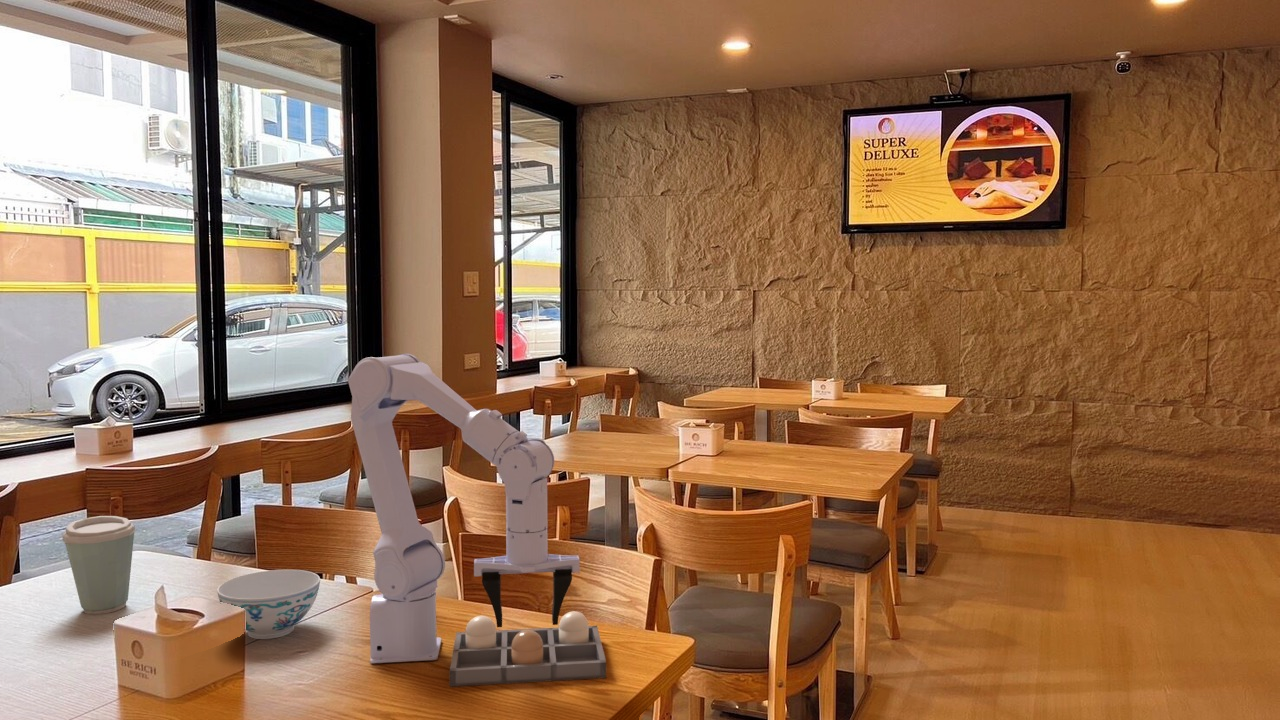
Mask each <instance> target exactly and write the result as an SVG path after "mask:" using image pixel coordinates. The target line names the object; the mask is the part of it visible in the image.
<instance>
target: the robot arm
mask: <svg viewBox="0 0 1280 720" xmlns="http://www.w3.org/2000/svg"><path fill="white" fill-rule="evenodd" d="M347 382H348V386H349V389H350V393H351V396H352V397H351V409H350V411H351V412H350V413H351V414H350V419H351V425H352V428H353V431H354V432H353V433H354V436H355V439H356V442H357V446H358V451H359V455H360V457H361V458H360V459H361V461H362V465H363V470H364V472H365V477H366V480H367V484H368V488H369V491H370V495H371V498H372V503H373V505H374V506H373V507H374V510H375V514H376V517H377V518H376V519H377V521H378V525H379V529H380V531H381V535H380V537H379V540H378V542H377V544H376V546H375V547H374V549H373V553H372V554H373V558H374V565H375V567H374V572H373V573H374V574H373V577H374V581H375V582H374V583H375V585H376V587H377V589H378V590H379V592H380V593H379V594H373V595H372V597H371V601H370V608H369V635H370V636H369V637H370V638H369V645H370V658H369V661H370V664H383V663H385V664H386V663H404V662H405V663H406V662H421V661H423V662H424V661H436V660H438V658H439V655H440V650H441V649H440V648H441V643H442V638H441V637H437V634H438V633H437V595H436V594H437V588H438V580H439V579H440V578H441V577H442V576H443V574H444V572H445V569H446V561H445V560H446V559H445V556H444V554H443V551H442V550H441V548H440V547H439V546H438V545H437V543H436V541H435V539H434V535H433V533H432V531H431V530H429V529H428V528H427V527H426V526H424V525H422V524H421V523H420V521H419V519H418V515H417V511H416V506H415V503H414V500H413V496H412V492H411V488H410V486H409V480H408V477H407V474H406V470H405V466H404V463H403V459H402V455H401V452H400V449H399V444H398V441H397V437H396V434H395V429H394V426H393V421H394V419H395V417H396V415H397V414H398V412H399V411H400V409H401V407H403V406H404V405H405V404H406V403H407V402H408V401H410V400H411V401H418V402H420V403H422V404H423V405H425V406H426V407H428V408H429V409H431V410H432V411H434V412H435V413H436V414H438V415H440V416H441V417H443V418H445V420H448V421H449V423H452V424H453V425H454V426H455V427H458V428H459V429H460V430H461V438H462V441H463V443H465V444H467V445H468V446H469V447H470V448H471V449H473V450H475V451H476V452H477V453H478V454H479V455H481V456H482V457H483V458H484V459H485V460H487V461H489V462H490V463H491V464H492V465H494V466H495V467H496V469H497V472H498V476H499V478H500V480H501V481H502V482H503V485H504V494H505V520H506V521H505V524H506V526H505V529H506V530H505V531H506V532H505V533H506V535H505V536H506V537H505V541H506V542H505V543H506V544H505V545H506V547H505V549H506V554H505V555H501V556H495V557H494V556H492V557H484V558H474V560H473V561H474V562H473V576H474V577H481V583H482V586H483V589H484V590H485V592H486V594H487V596H488V598H489V601H490V603H491V606H492V608H493V612H494V615H495V616H494V617H495V621H496V628H503V611H502V610H503V609H502V593H501V592H502V591H501V590H502V589H501V588H502V587H501V580H502V578H501V575H507V574H510V575H511V574H515V575H516V574H536V573H541V574H542V573H552V586H553V587H552V588H553V589H552V590H553V591H552V592H553V594H552V597H553V598H552V611H551V617H552V618H551V620H552V626H559V624H558V623H559V616H560V612H561V608H562V604H563V602H564V599H565V597H566V594H567V592H568V589H569V587H570V586H571V583H572V581H573V574H575V573H577V574H578V573H580V567H581V566H580V563H581V562H580V557H579V555H567V554H564V555H563V554H551V553H549V554H548V550H549V549H548V546H549V545H548V542H549V541H548V524H549V523H548V518H549V517H548V476H549V475H550V474H551V473H552V472H553V469H554V466H555V455H554V453H553V452H554V451H552V449H551V447H550V446H549V445H548V443H547V444H546V442H545V440H544V439H540V438H535V437H534V438H528V434H527V433H525V431H523V430H521V431H519V430H518V429H516V428H515V427H514V426H512V425H511V424H510V423H508V422H506V421H505V420H504V419H502V417H503V413H501V412H500V411H498V410H497V409H493V410H491V409H490V408H483V409H482V408H481V409H478V410H477V409H475V408H474V407H473V406H472V404H470V403H469V402H467V401H466V399H464V398H463V397H462V396H460V395H459V394H458V392H456V391H454V389H452V388H451V387H449V386H448V384H446V382H444V381H443V380H442V379H441V378H439V377H438V376H437V375H436V374H435V373H434V372H433V371H432V369H431V367H430V365H429V364H427V363H425V362H422V361H420V359H419V358H418V357H417V356H415V355H413V354H411V353H402V354H398V355H389V356H382V357H381V356H380V357H379V356H378V357H373V356H370V357H367V356H366V357H365V358H362V359H361V360H360V361H358V362H357V364H356V365H355V367H354V368H353V370H352V371H351V373H350V375H349V377H348V378H347ZM406 547H408V548H407V549H405V548H406ZM404 549H405V550H404Z"/></svg>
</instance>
